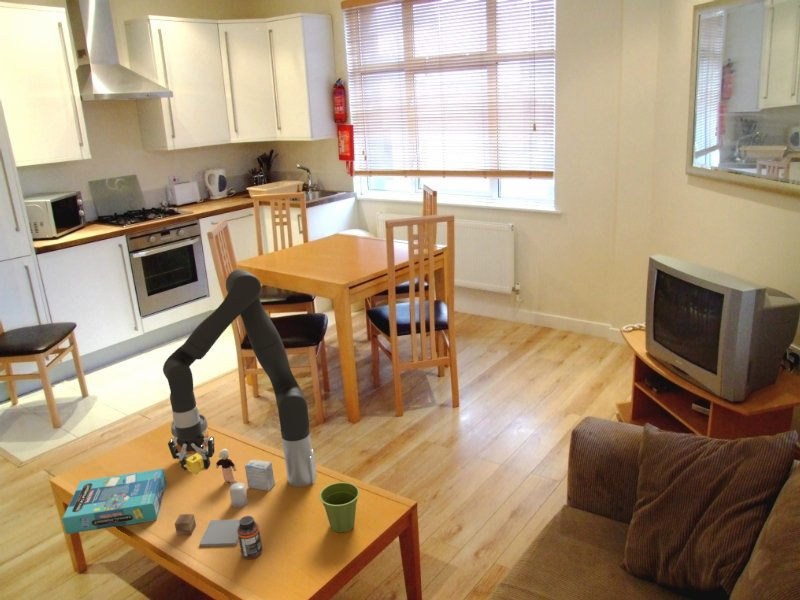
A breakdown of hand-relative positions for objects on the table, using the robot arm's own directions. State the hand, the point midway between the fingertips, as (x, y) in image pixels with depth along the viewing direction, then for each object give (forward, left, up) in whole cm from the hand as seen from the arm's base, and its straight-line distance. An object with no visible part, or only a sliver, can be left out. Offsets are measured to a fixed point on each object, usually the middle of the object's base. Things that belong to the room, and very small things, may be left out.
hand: (196, 468), depth 207 cm
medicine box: (-16, -12, -16) cm, 25 cm away
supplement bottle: (-21, +21, -16) cm, 33 cm away
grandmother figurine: (-4, -15, -16) cm, 22 cm away
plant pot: (-46, +10, -16) cm, 49 cm away
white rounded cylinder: (-11, -3, -15) cm, 19 cm away
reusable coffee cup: (+13, -31, -16) cm, 37 cm away
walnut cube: (+2, +10, -16) cm, 18 cm away
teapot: (0, 0, -1) cm, 1 cm away
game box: (+16, -6, -12) cm, 21 cm away
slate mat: (-10, +12, -15) cm, 22 cm away
